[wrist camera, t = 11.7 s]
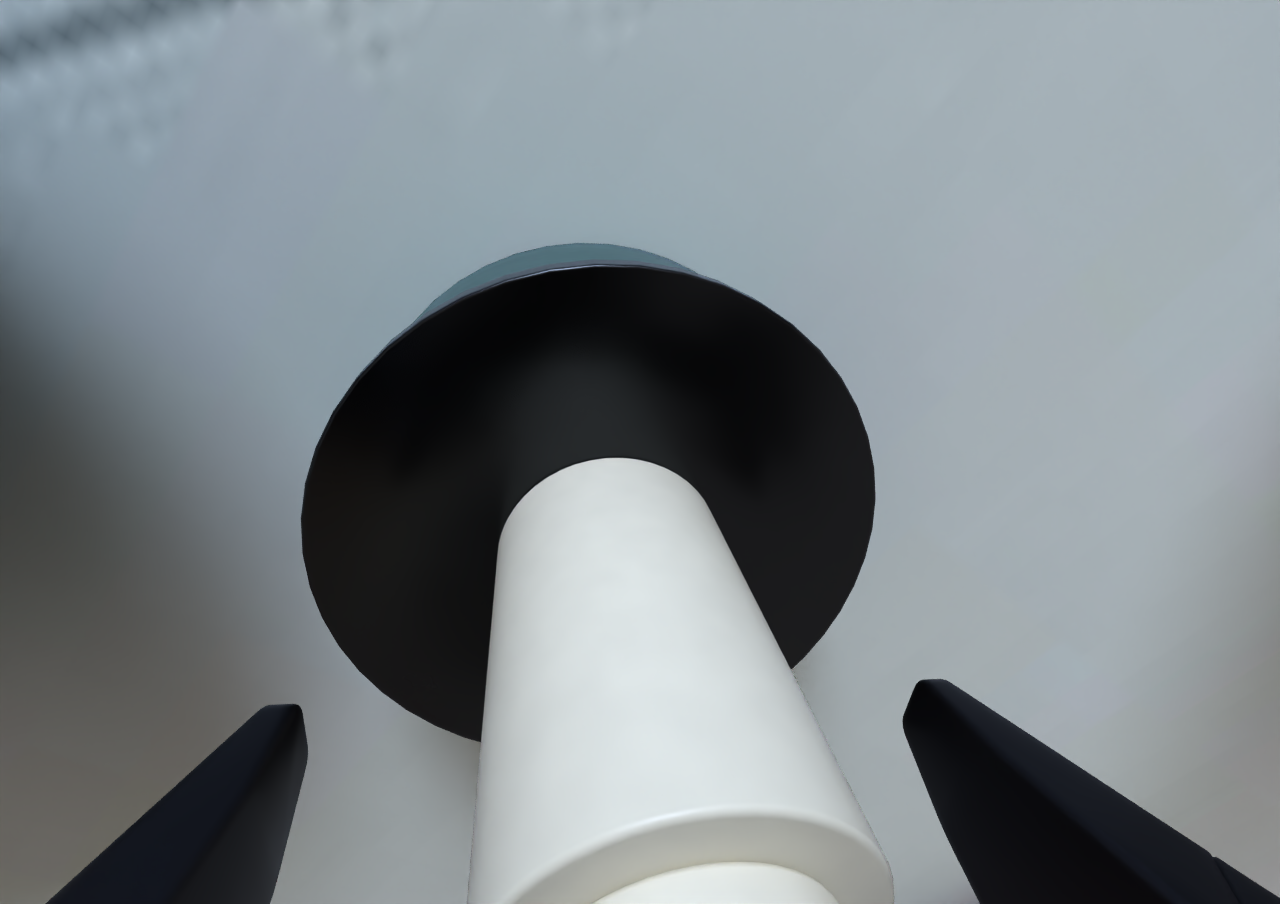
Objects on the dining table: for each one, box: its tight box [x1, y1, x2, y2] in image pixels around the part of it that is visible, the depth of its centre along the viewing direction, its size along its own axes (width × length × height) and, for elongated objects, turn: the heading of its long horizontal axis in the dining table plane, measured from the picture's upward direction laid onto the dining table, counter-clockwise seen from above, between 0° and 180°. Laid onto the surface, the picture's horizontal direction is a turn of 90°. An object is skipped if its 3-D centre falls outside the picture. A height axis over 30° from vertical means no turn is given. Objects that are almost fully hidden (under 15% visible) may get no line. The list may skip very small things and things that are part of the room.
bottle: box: [467, 458, 894, 904], centre depth 8 cm, size 4×4×10 cm
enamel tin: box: [301, 243, 875, 742], centre depth 14 cm, size 11×11×5 cm
